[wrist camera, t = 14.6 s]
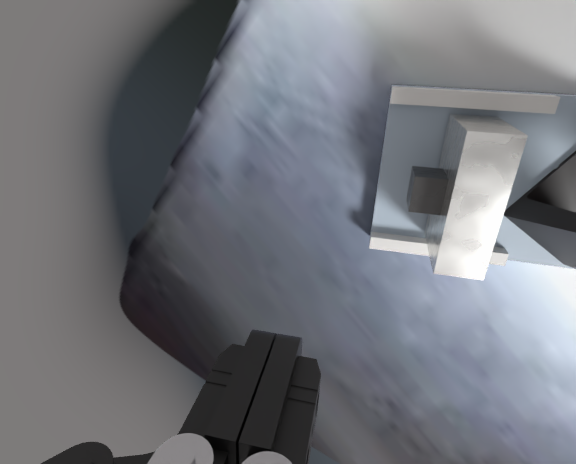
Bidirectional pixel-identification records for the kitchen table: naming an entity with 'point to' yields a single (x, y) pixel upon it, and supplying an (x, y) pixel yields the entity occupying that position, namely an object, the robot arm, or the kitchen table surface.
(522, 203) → the phone stand
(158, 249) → the kitchen table surface
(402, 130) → the vise body
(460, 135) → the block
